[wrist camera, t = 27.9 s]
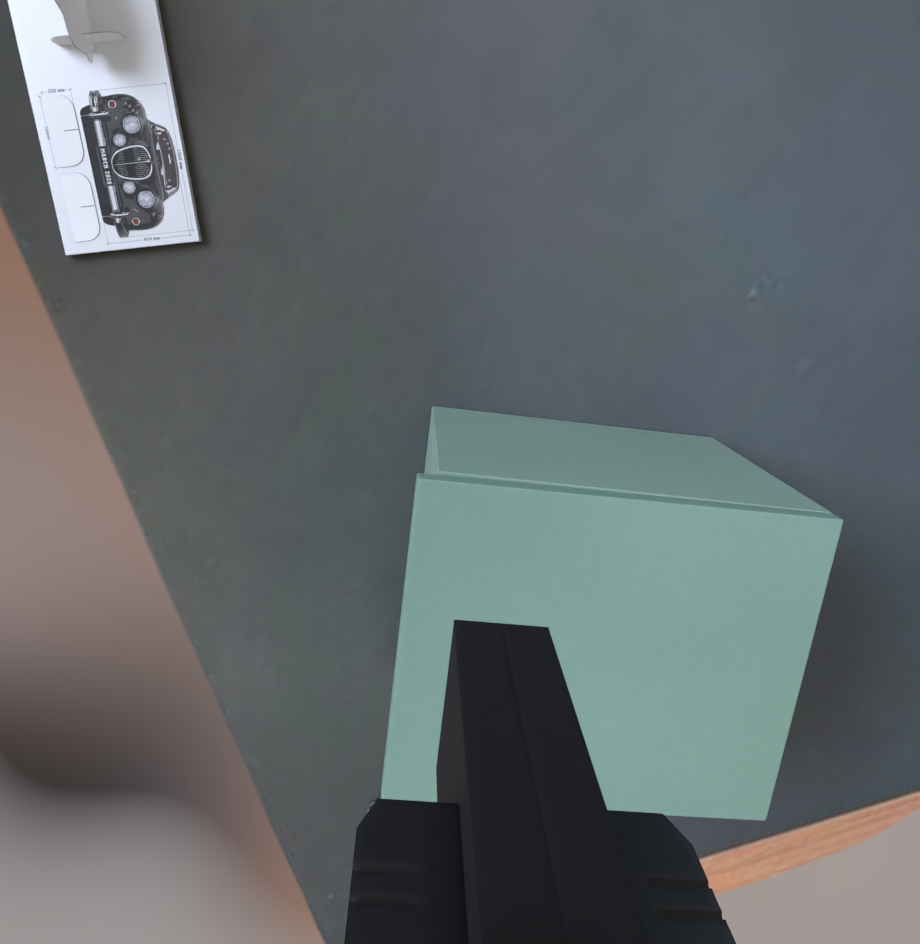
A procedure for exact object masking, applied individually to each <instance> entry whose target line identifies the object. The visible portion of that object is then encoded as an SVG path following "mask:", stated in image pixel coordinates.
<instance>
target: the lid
mask: <svg viewBox="0 0 920 944" xmlns="http://www.w3.org/2000/svg"><path fill="white" fill-rule="evenodd" d="M842 525H843V520H842V519H841V518H839V517H837V516H836V515H834V514H832V513H823V512H813V511H803V510H793V509H782V508H772V507H762V506H752V505H742V504H731V503H721V502H711V501H701V500H691V499H681V498H670V497H660V496H650V495H640V494H630V493H619V492H609V491H599V490H589V489H579V488H569V487H558V486H548V485H538V484H528V483H518V482H507V481H497V480H487V479H477V478H467V477H456V476H446V475H436V474H426V473H417V477H416V486H415V495H414V503H413V512H412V521H411V530H410V539H409V547H408V556H407V565H406V574H405V583H404V591H403V600H402V609H401V618H400V627H399V635H398V644H397V653H396V662H395V671H394V679H393V688H392V697H391V706H390V715H389V723H388V732H387V741H386V750H385V759H384V767H383V776H382V785H381V799H395V800H411V801H427V802H437V779H436V765H437V757H438V749H439V741H440V732H441V724H442V716H443V708H444V699H445V691H446V683H447V675H448V666H449V658H450V650H451V642H452V634H453V625H454V620H466V621H478V622H491V623H503V624H515V625H528V626H540V627H548V628H549V631H550V634H551V637H552V640H553V643H554V646H555V650H556V653H557V656H558V659H559V662H560V665H561V668H562V671H563V674H564V677H565V681H566V684H567V687H568V690H569V693H570V696H571V699H572V702H573V705H574V708H575V712H576V715H577V718H578V721H579V724H580V727H581V730H582V733H583V736H584V739H585V743H586V746H587V749H588V752H589V755H590V758H591V761H592V764H593V767H594V770H595V773H596V777H597V780H598V783H599V786H600V789H601V792H602V795H603V798H604V801H605V804H606V808H607V810H614V811H630V812H645V813H661V814H663V815H669V816H687V817H706V818H725V819H743V820H762V821H765V820H766V817H767V814H768V810H769V806H770V802H771V798H772V794H773V790H774V787H775V783H776V779H777V775H778V771H779V767H780V763H781V760H782V756H783V752H784V748H785V744H786V740H787V737H788V733H789V729H790V725H791V721H792V717H793V713H794V710H795V706H796V702H797V698H798V694H799V690H800V687H801V683H802V679H803V675H804V671H805V667H806V663H807V660H808V656H809V652H810V648H811V644H812V640H813V636H814V633H815V629H816V625H817V621H818V617H819V613H820V610H821V606H822V602H823V598H824V594H825V590H826V586H827V583H828V579H829V575H830V571H831V567H832V563H833V560H834V556H835V552H836V548H837V544H838V540H839V536H840V533H841V529H842Z"/></svg>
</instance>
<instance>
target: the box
mask: <svg viewBox="0 0 920 944" xmlns="http://www.w3.org/2000/svg"><path fill="white" fill-rule="evenodd" d="M424 473H426V474H436V475H446V476H456V477H467V478H477V479H487V480H497V481H507V482H518V483H528V484H538V485H548V486H558V487H569V488H579V489H589V490H599V491H609V492H619V493H630V494H640V495H650V496H660V497H670V498H681V499H691V500H701V501H711V502H721V503H731V504H742V505H752V506H762V507H772V508H782V509H793V510H803V511H813V512H823V513H831V512H830V511H828V510H827V509H825V508H823V507H822V506H820V505H819V504H817V503H815V502H814V501H812V500H811V499H809V498H807V497H806V496H804V495H803V494H801V493H800V492H798V491H796V490H795V489H793V488H792V487H790V486H788V485H787V484H785V483H784V482H782V481H780V480H779V479H777V478H776V477H774V476H773V475H771V474H769V473H768V472H766V471H765V470H763V469H761V468H760V467H758V466H757V465H755V464H753V463H752V462H750V461H749V460H747V459H746V458H744V457H742V456H741V455H739V454H738V453H736V452H734V451H733V450H731V449H730V448H728V447H726V446H725V445H723V444H722V443H720V442H719V441H717V440H715V439H714V438H712V437H703V436H694V435H686V434H677V433H668V432H659V431H650V430H641V429H632V428H623V427H614V426H605V425H597V424H588V423H579V422H570V421H561V420H552V419H543V418H534V417H525V416H517V415H508V414H499V413H490V412H481V411H472V410H463V409H454V408H445V407H436V406H432V411H431V419H430V428H429V436H428V445H427V454H426V462H425V471H424Z"/></svg>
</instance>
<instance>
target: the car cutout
mask: <svg viewBox="0 0 920 944" xmlns="http://www.w3.org/2000/svg"><path fill="white" fill-rule="evenodd" d="M7 1H8V6H9V10H10V15H11V19H12V23H13V28H14V32H15V37H16V41H17V45H18V50H19V54H20V58H21V63H22V67H23V72H24V76H25V80H26V85H27V89H28V93H29V98H30V102H31V107H32V111H33V115H34V120H35V124H36V129H37V133H38V137H39V142H40V146H41V150H42V155H43V159H44V164H45V168H46V172H47V177H48V181H49V185H50V190H51V194H52V199H53V203H54V207H55V212H56V216H57V221H58V225H59V229H60V234H61V238H62V242H63V247H64V251H65V255H78V254H87V253H97V252H106V251H115V250H125V249H134V248H143V247H152V246H162V245H171V244H180V243H190V242H199V241H202V238H201V233H200V227H199V222H198V216H197V211H196V205H195V200H194V194H193V189H192V183H191V178H190V173H189V167H188V162H187V156H186V151H185V145H184V140H183V134H182V129H181V123H180V118H179V113H178V107H177V102H176V96H175V91H174V85H173V80H172V74H171V69H170V63H169V58H168V52H167V47H166V42H165V36H164V31H163V25H162V20H161V14H160V9H159V3H158V0H7Z"/></svg>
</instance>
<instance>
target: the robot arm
mask: <svg viewBox="0 0 920 944" xmlns="http://www.w3.org/2000/svg"><path fill="white" fill-rule="evenodd" d="M436 779H437V802H427V801H411V800H395V799H379V798H377V800H376V801H375V803H374V804H373V806H372V807H371V808H370V810H369V811H368V813H367V814H366V816H365V817H364V818H363V820H362V821H361V823H360V824H359V826H358V827H357V832H356V842H355V851H354V860H353V870H352V878H351V888H350V897H349V906H348V915H347V925H346V934H345V943H344V944H736V943H735V940H734V938H733V936H732V934H731V931H730V929H729V927H728V925H727V923H726V920H723V919H722V911H721V909H720V907H719V905H718V902H717V900H716V898H715V895H714V893H713V891H712V889H711V888H709V887H708V879H707V877H706V875H705V873H704V870H703V868H702V866H701V864H700V861H699V859H698V857H697V855H696V852H695V850H694V848H693V846H692V844H691V843H690V842H689V841H688V840H687V839H686V838H685V837H684V836H683V835H682V834H681V833H680V832H679V831H678V829H677V828H676V827H675V826H674V825H673V824H672V823H671V822H670V821H669V820H668V819H667V818H666V817H665V816H664V815H663V814H661V813H645V812H630V811H614V810H607V808H606V804H605V801H604V798H603V795H602V792H601V789H600V786H599V783H598V780H597V777H596V773H595V770H594V767H593V764H592V761H591V758H590V755H589V752H588V749H587V746H586V743H585V739H584V736H583V733H582V730H581V727H580V724H579V721H578V718H577V715H576V712H575V708H574V705H573V702H572V699H571V696H570V693H569V690H568V687H567V684H566V681H565V677H564V674H563V671H562V668H561V665H560V662H559V659H558V656H557V653H556V650H555V646H554V643H553V640H552V637H551V634H550V631H549V628H548V627H540V626H528V625H515V624H503V623H491V622H478V621H466V620H454V625H453V634H452V642H451V650H450V658H449V666H448V675H447V683H446V691H445V699H444V708H443V716H442V724H441V732H440V741H439V749H438V757H437V765H436Z"/></svg>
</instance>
